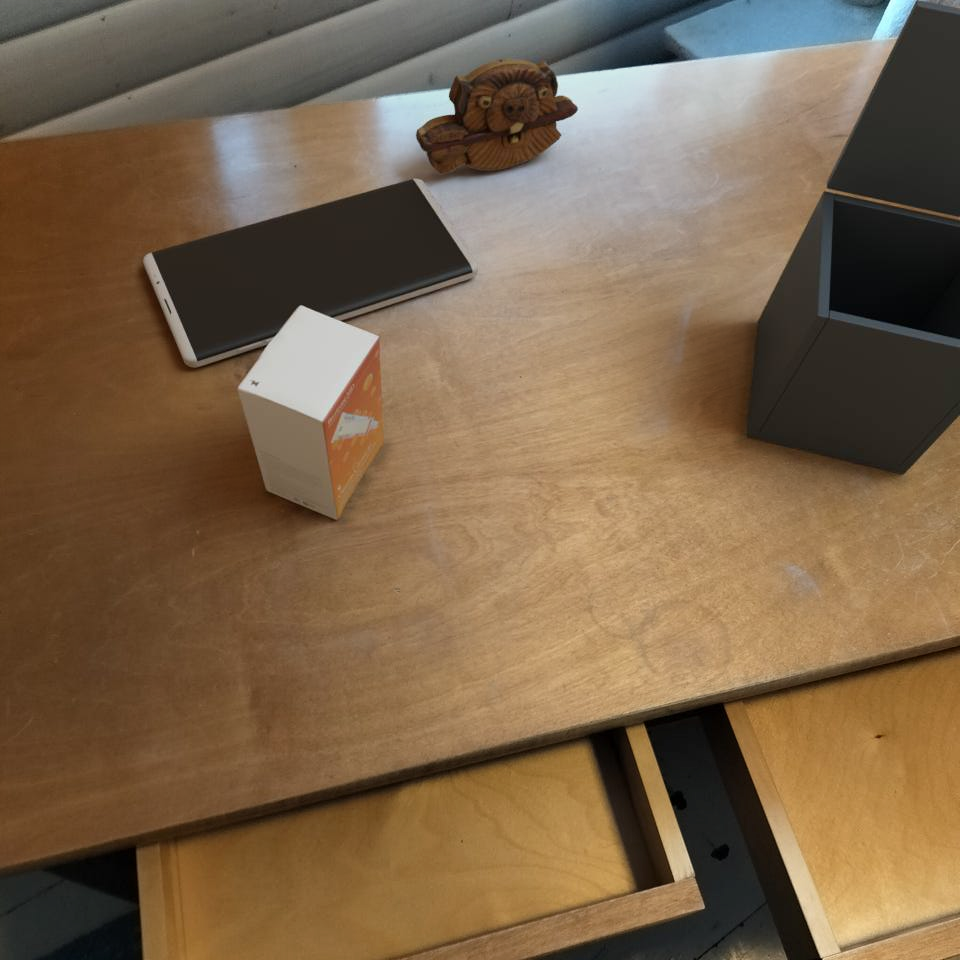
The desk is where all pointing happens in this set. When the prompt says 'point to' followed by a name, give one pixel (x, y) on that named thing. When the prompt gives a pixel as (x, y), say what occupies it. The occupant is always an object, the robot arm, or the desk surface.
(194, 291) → the smartphone
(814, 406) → the chest
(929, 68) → the lid
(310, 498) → the small box
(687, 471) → the desk surface
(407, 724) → the desk surface
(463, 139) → the wooden carving
